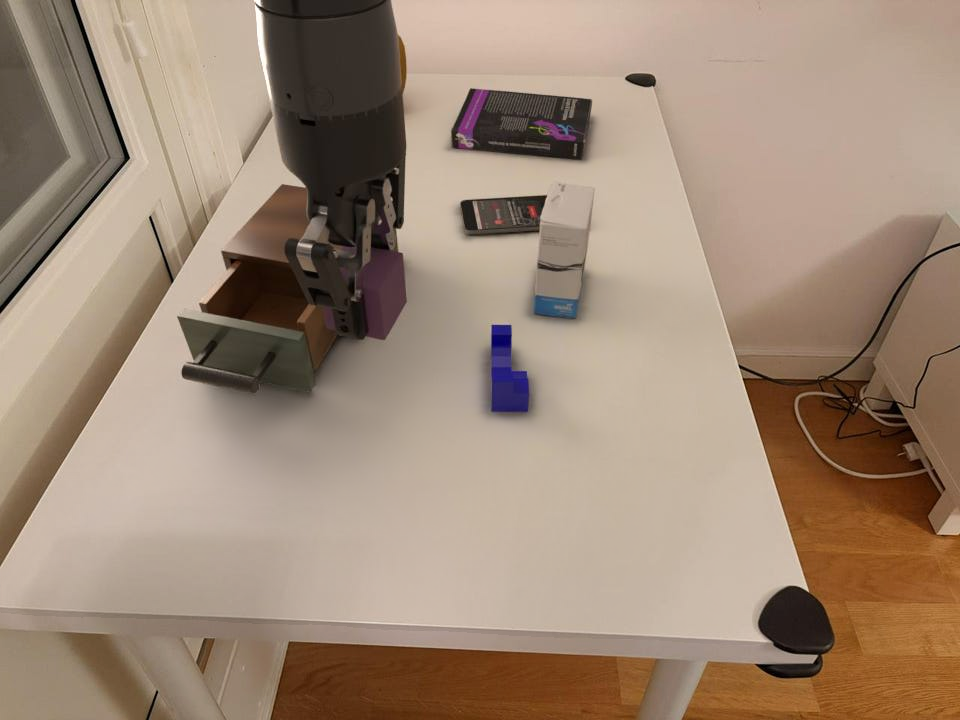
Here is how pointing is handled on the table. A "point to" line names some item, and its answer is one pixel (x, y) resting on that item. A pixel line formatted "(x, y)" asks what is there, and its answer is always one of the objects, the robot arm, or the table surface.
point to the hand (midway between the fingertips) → (366, 311)
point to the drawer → (255, 331)
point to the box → (522, 123)
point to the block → (379, 291)
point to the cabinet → (273, 229)
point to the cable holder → (506, 374)
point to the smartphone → (502, 214)
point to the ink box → (562, 249)
